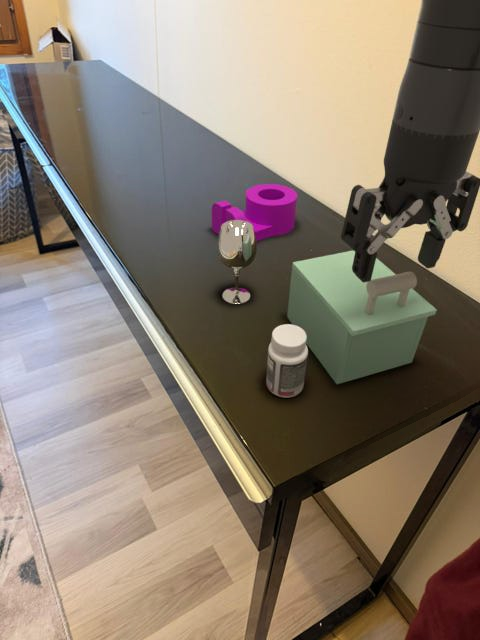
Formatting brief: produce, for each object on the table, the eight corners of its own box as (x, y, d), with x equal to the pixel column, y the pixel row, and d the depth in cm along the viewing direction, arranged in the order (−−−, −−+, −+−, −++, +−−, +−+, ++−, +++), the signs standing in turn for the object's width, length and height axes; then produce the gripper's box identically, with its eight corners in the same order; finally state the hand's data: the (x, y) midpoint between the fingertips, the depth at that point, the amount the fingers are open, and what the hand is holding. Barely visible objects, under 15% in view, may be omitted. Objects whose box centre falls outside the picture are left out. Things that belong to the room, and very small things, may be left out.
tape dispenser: (273, 208, 97) (275, 180, 93) (304, 227, 91) (307, 197, 87) (210, 228, 90) (209, 198, 86) (239, 249, 83) (239, 218, 79)
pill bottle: (309, 380, 58) (317, 330, 53) (292, 404, 55) (299, 354, 50) (277, 366, 60) (281, 316, 55) (258, 388, 57) (261, 338, 52)
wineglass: (210, 296, 72) (208, 228, 64) (234, 281, 75) (235, 214, 68) (238, 311, 69) (239, 241, 62) (261, 294, 73) (265, 226, 65)
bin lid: (435, 314, 55) (448, 278, 51) (352, 336, 51) (360, 298, 48) (364, 252, 66) (371, 219, 63) (292, 267, 63) (295, 232, 59)
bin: (412, 362, 61) (430, 310, 55) (336, 384, 58) (348, 332, 52) (353, 301, 72) (363, 252, 66) (286, 317, 68) (291, 267, 63)
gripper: (395, 139, 36) (358, 303, 46) (530, 123, 40) (468, 277, 50) (345, 114, 41) (322, 265, 52) (469, 102, 45) (424, 244, 56)
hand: (394, 271), depth 51 cm, fingers open, 8 cm apart
